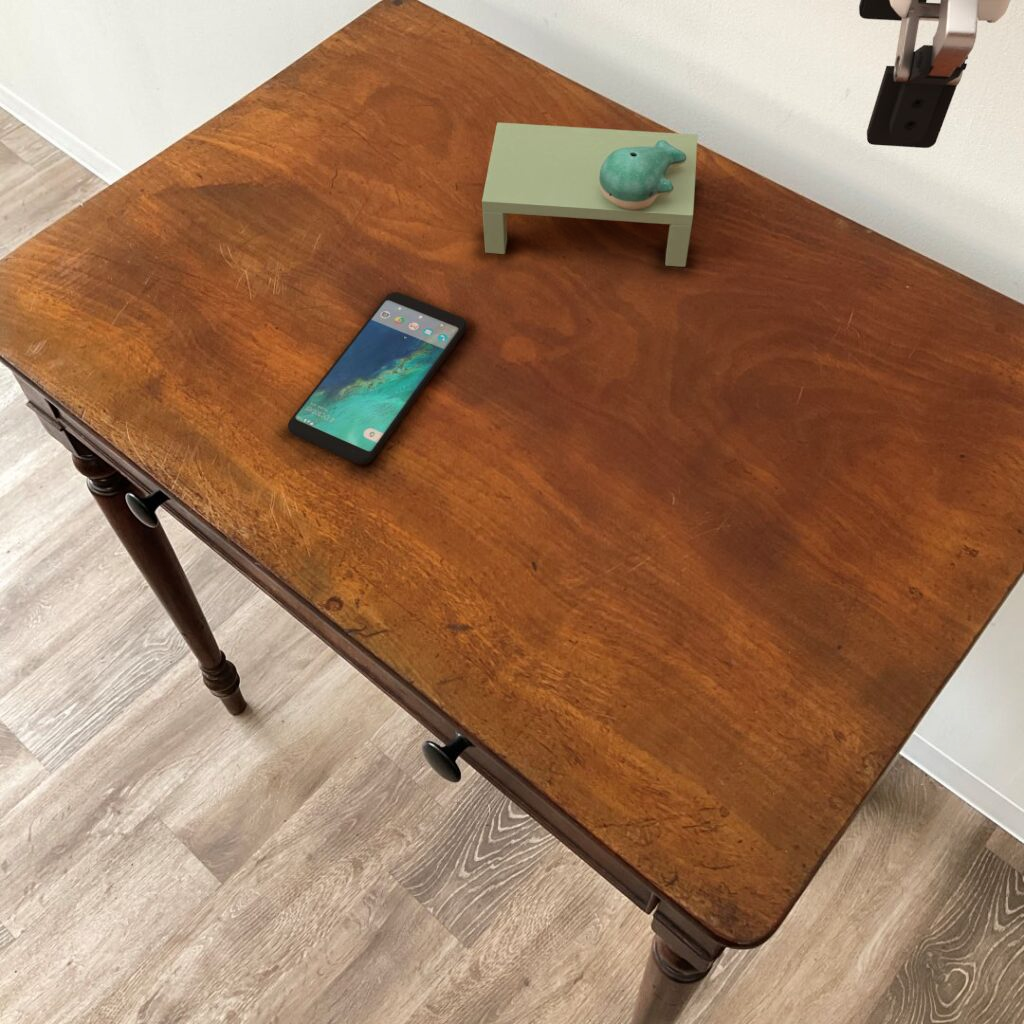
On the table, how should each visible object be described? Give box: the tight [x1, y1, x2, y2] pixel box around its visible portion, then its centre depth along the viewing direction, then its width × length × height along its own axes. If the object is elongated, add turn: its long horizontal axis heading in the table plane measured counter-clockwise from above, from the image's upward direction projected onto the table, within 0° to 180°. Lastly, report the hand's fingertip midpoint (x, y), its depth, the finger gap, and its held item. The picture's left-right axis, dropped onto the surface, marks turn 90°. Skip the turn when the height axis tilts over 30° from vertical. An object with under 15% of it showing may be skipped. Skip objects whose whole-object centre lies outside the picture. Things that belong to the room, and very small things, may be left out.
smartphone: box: [287, 291, 468, 465], centre depth 82 cm, size 7×1×15 cm
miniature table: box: [481, 122, 699, 268], centre depth 88 cm, size 16×9×6 cm, turn 83°
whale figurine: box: [599, 140, 687, 210], centre depth 83 cm, size 6×7×4 cm
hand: (893, 76), depth 56 cm, fingers open, 9 cm apart
